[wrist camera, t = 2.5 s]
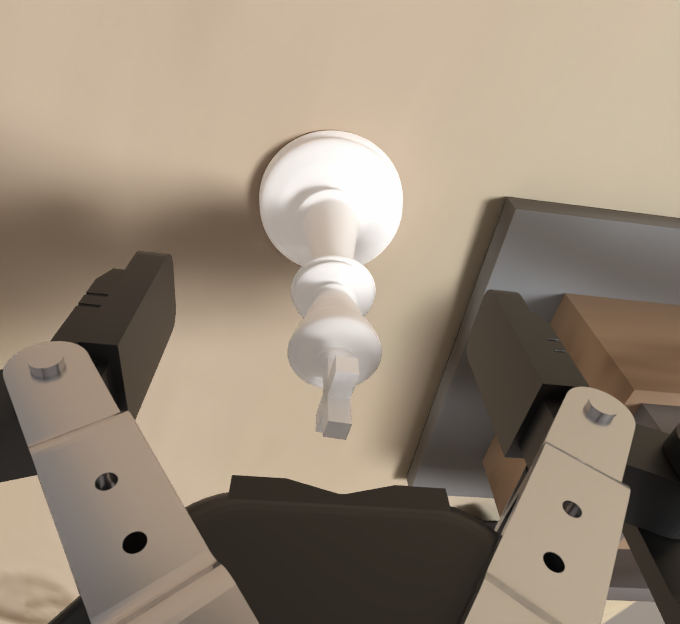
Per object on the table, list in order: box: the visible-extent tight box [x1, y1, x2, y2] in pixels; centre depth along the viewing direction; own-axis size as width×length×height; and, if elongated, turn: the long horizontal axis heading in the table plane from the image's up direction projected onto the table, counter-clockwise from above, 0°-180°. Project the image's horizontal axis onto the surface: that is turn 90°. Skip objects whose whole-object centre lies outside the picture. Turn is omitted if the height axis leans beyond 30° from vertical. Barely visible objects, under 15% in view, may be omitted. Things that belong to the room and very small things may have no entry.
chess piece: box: [259, 130, 403, 440], centre depth 13 cm, size 5×5×10 cm
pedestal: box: [407, 197, 680, 602], centre depth 19 cm, size 16×16×8 cm
